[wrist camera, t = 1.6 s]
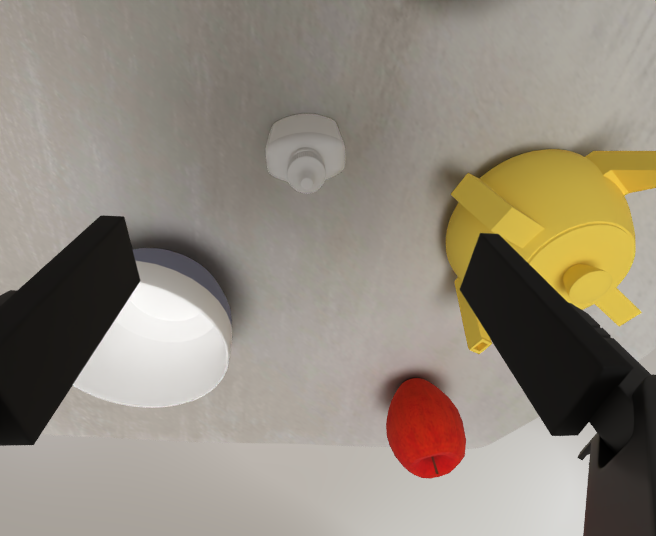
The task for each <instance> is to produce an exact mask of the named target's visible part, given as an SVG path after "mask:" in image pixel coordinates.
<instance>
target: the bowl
mask: <svg viewBox="0 0 656 536" xmlns="http://www.w3.org/2000/svg"><path fill="white" fill-rule="evenodd" d="M133 253H134V257H135V261H136V265H137V269H138V273H139V277H140V282H139V284H138V285H137V287H136V288H135V290H134V292H133V293H132V295H131V296H130V298H129V299H128V301H127V302H126V304H125V305H124V307H123V308H122V310H121V311H120V313H119V315H118V316H117V318H116V319H115V321H114V322H113V324H112V325H111V327H110V328H109V330H108V331H107V333H106V334H105V336H104V338H103V339H102V341H101V342H100V344H99V345H98V347H97V348H96V350H95V351H94V353H93V354H92V356H91V358H90V359H89V361H88V362H87V364H86V365H85V367H84V368H83V370H82V371H81V373H80V374H79V376H78V377H77V379H76V381H75V382H74V384H73V386H74V387H76V388H78V389H79V390H81V391H83V392H86V393H88V394H90V395H92V396H94V397H97V398H100V399H103V400H106V401H110V402H113V403H118V404H122V405H127V406H135V407H146V408H151V407H168V406H176V405H180V404H184V403H187V402H191V401H194V400H196V399H198V398H200V397H202V396H204V395H206V394H207V393H208V392H210V391H211V390H213V389H214V388H215V387H216V386H217V385H218V384H219V382H220V381H221V380H222V379H223V377H224V375H225V373H226V371H227V369H228V365H229V359H230V352H231V345H232V338H233V335H232V319H231V310H230V306H229V304H228V301H227V298H226V296H225V295H224V293H223V291H222V289H221V288H220V286H219V284H218V283H217V281H216V280H215V278H214V277H213V276H212V275H211V274H210V273H209V272H208V271H207V270H206V269H205V268H204V267H203V266H201V265H200V264H198V263H197V262H196V261H194V260H192V259H190V258H188V257H186V256H184V255H182V254H179V253H176V252H173V251H169V250H164V249H158V248H140V249H133Z"/></svg>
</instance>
